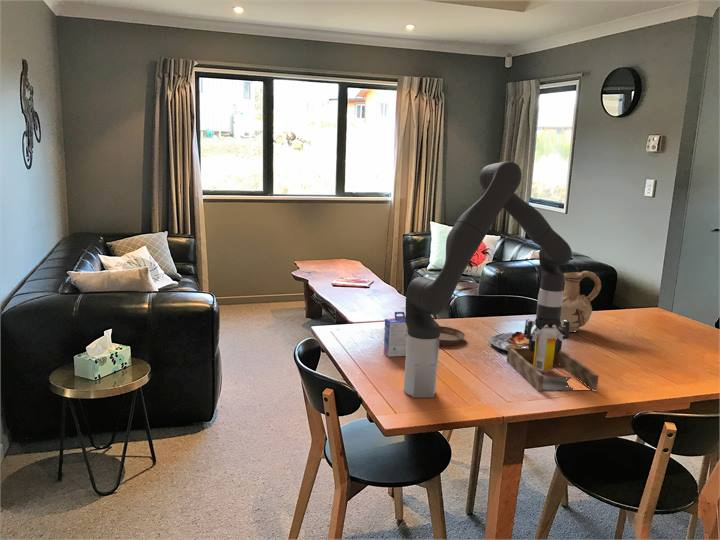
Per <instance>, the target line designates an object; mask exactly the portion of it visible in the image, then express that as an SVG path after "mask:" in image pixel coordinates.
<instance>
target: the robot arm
mask: <svg viewBox="0 0 720 540" xmlns="http://www.w3.org/2000/svg"><path fill="white" fill-rule="evenodd" d="M521 181H522V169H521V167H520V165H518V163H516V162H514V161H500V162H496V163H495V162H494V163H491V164H488V165H486V166H484V167H483V168H482V169H481V171H480V174H479V184H480V186H481V188H482V189H483V191H484V193H483V195H481V197H480V198H479V199H478V200H477V201H476V202H474V203H473V204H472V205H471V206H470V207H469V208H467V209H466V210H465V211H464V212H463V213H462V214H461V215H460V216H459V217H458V219H457V220H456V222H455V223H454V224H453V226H452V228H451V230H449V233H448V235H447V237H446V241H445V259H444V265H443V267H442V269H441V270H440V272H439V274H438V276H436V277H435V280H434V279H431V278H428V277H423V276H418V277H414V278H413V279H412V280H411V281H410V282H409V284H408V286H407V289H406V294H405V313H404V314H405V320H406V325H407V329H408V331H407V345H406V356H405V362H404V363H405V364H404V376H403V377H404V378H403V379H404V380H403V392H404V393H405V394H407V395H409V396H411V397H412V399H413V398H415V399H416V398H424V399H425V398H434V397H435V394H436V393H437V392H436V390H437V378H438V377H437V376H438V366H439V365H438V363H439V354H440V353H439V350H440V345H439V341H440V326H441V325H440V324H439V323H438V322H437V321H436V320H435V319H434V317H433V316H435V315H439V314H440V313H442V312H443V311H444V310H445V309H446V307H447V306H448V305H449V303H450V301H451V300H452V297H453V295H454V293H455V290H456V288H457V287H458V285H459V282H460V280H461V278H462V276H463V274H464V273H465V270H466V269H467V267H468V265H469V263H470V261H471V260H472V258H473V256H474V255H475V253H476V252H477V251H478V249H479V247H480V246H481V244H482V243H483V240H484V239H485V237H486V236H487V234H488V231H489V230H490V229H491V227H492V225H493V224H494V222H495V220H496V219H497V218H498V216H499V214H500V212H501V211H502V209H504V210H505V212H507V213H508V214H509V215H510V216H511V218H513V219H514V220H515V221H516V222H517V224H518V226H520V227H521V228H522V230H523V231H524V233H525V234H526V235H527V236H528V238H529V239H530V240H531V242H532V243H534V244H535V245H537V246H539V247H540V248H539V251H538V252H539V253H538V260H539V269H540V276H541V277H540V285H539V291H538V295H537V306H536V313H535V316H536V317H535V320H531V319H526V320H525V325H524V330H523V333H524V337H526V338H527V339H529V346H528V348H529V349H530V351H531V352H534V351H535V342H536V341H535V340H536V339H537V337H538V336H540V335H541V331H542V329H543V328H548V327H550V328H556V330H557V334H556V342H555V351H556V352H559V351H560V350H561V349H562V344H563V341H565V340H568V339H569V337H570V333H569V322H568V321H567V320H565V319H564V320H563V321H560V318H561V311H562V302H563V291H564V286H565V280H564V273H563V272H562V271H561V270H560V267H559V266H563V265H566V264H568V263H569V262H570V261H571V259H572V256H573V251H572V248H571V246H570V245H569V244H568V242H567V241H566V240H565V239H564V238H563V237H562V236H561V235H560V234H558V233H557V232H556V231H555V230H554V229H553V227H552V226H551V225H550V224H549V222H548V221H547V220H546V218H545V217H544V216H543V215H542V213H541V212H540V211H538V209H536V208H534V207H533V206H532V205H531V204H529V203H527V201H525V200H523V199H522V198H521V197H520V196H519V195H517V194H516V191H517V190H518V188H519V186H520V184H521ZM560 325H561V326H562V330H561V332H560V330H559V329H558V327H559V326H560ZM534 326H535V327H534ZM533 327H534V329H533ZM541 327H542V328H541ZM537 329H540V330H539V331H538V332H537Z"/></svg>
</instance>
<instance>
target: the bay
mask: <svg viewBox="0 0 720 540" xmlns="http://www.w3.org/2000/svg"><path fill="white" fill-rule="evenodd" d="M534 352H535V351H534ZM534 352H531V351H530V349H529V348H511V347H508V351H507V355H506V357H507V358H506V362H507V364H509V365H510V366H511V367H512V368H513V369H514V370H515V371H516V373H518V374H519V375H520V376H521V377H522V378H523V379H524V380H526V382H528V384H530V386H532V387H533V388H534V389H535V390H536V392H538V393H541V392H551V391H552V392H556V391H555V390H573V388H571V387H569V385H568V383H567V381H568V380H569V379H570V378H571V377H572V376H573V375H574V376H575V377H576V378H578V379H579V380H581V381H582V382H583V383H585V384H586V385H587V386H589V387H590V388H591V389H593V390H597V391H598V383H599V378H600V377H599V375H598V374H597V373H596V372H594V371H593V370H592V369H590V368H588V367H587V366H586V365H585V364H583V363H582V362H580V361H579V360H578V359H577V358H575V357H573V356H572V355H571V354H569V353H568V352H567V351H565V350H564V349H563V348H561V350H560V351H559V352H556V351H554V359H553V362H557V363H558V364H557V363H556V364H557V365H559V364H560V365H561V366H562V367H563V368H562V367H561V366H560V365H559V366H560V367H561V368H562V369H564V368H565V369H566V370H567V371H568V372H567V371H566V370H565V369H564V370H565V371H566V372H567V373H569V372H570V373H571V374H572V375H571V374H570V373H569V374H570V375H571V376H544V375H543V374H542V372H539V371H538V370H537V369H536V368H534V367H533V361H534ZM574 376H573V377H574ZM567 377H568V378H567ZM566 378H567V379H566ZM578 379H577V380H578ZM583 383H582V384H583ZM566 386H568V387H566Z"/></svg>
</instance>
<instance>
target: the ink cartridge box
mask: <svg viewBox="0 0 720 540" xmlns="http://www.w3.org/2000/svg"><path fill="white" fill-rule="evenodd" d="M405 314H406V313H405V311H394V318H384V335H383V336H384V337H383V338H384V339H383V353H384V355H385V356H387V357H388V358H391V357H404V356H405V357H406V345H407V331H408V329H407V325H406V320H405Z"/></svg>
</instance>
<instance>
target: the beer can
mask: <svg viewBox="0 0 720 540" xmlns="http://www.w3.org/2000/svg"><path fill="white" fill-rule="evenodd" d="M541 328H542V327H541ZM539 330H540V329H537V332H538V331H539ZM556 334H557V330H556V328H550V327H548V328H543V329H542V331H541V335H540V336H538V337H537V339H536V343H535V352H534V361H533V363H532V366H533V367H534V368H536V369H537V370H538V371H539V372H540V373H542V372H543V373H545V374H546V373H547V372H548V373H550V372H551V371H552V370H553V365H554V363H553V359H554V351H555V342H556V339H557V338H556Z"/></svg>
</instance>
